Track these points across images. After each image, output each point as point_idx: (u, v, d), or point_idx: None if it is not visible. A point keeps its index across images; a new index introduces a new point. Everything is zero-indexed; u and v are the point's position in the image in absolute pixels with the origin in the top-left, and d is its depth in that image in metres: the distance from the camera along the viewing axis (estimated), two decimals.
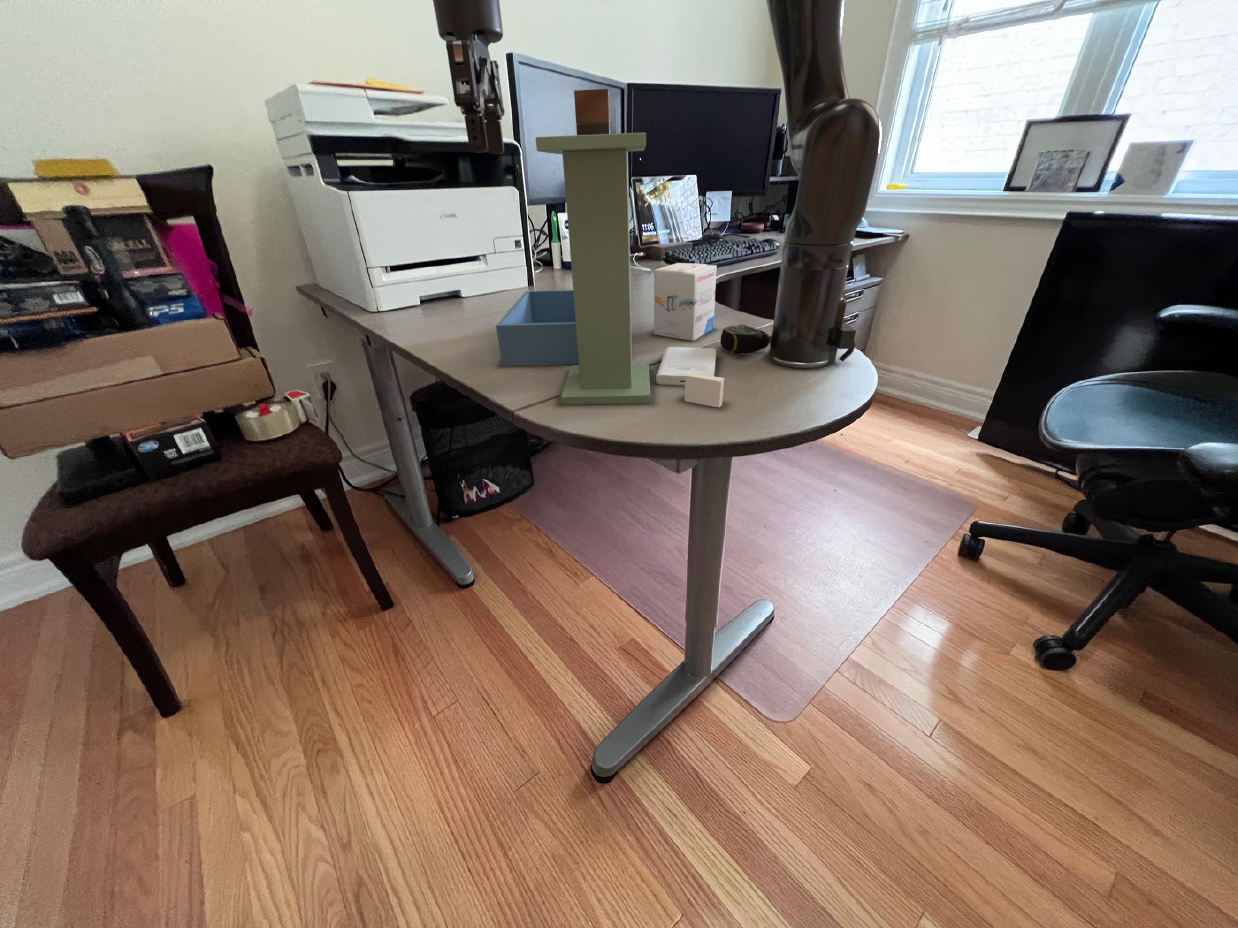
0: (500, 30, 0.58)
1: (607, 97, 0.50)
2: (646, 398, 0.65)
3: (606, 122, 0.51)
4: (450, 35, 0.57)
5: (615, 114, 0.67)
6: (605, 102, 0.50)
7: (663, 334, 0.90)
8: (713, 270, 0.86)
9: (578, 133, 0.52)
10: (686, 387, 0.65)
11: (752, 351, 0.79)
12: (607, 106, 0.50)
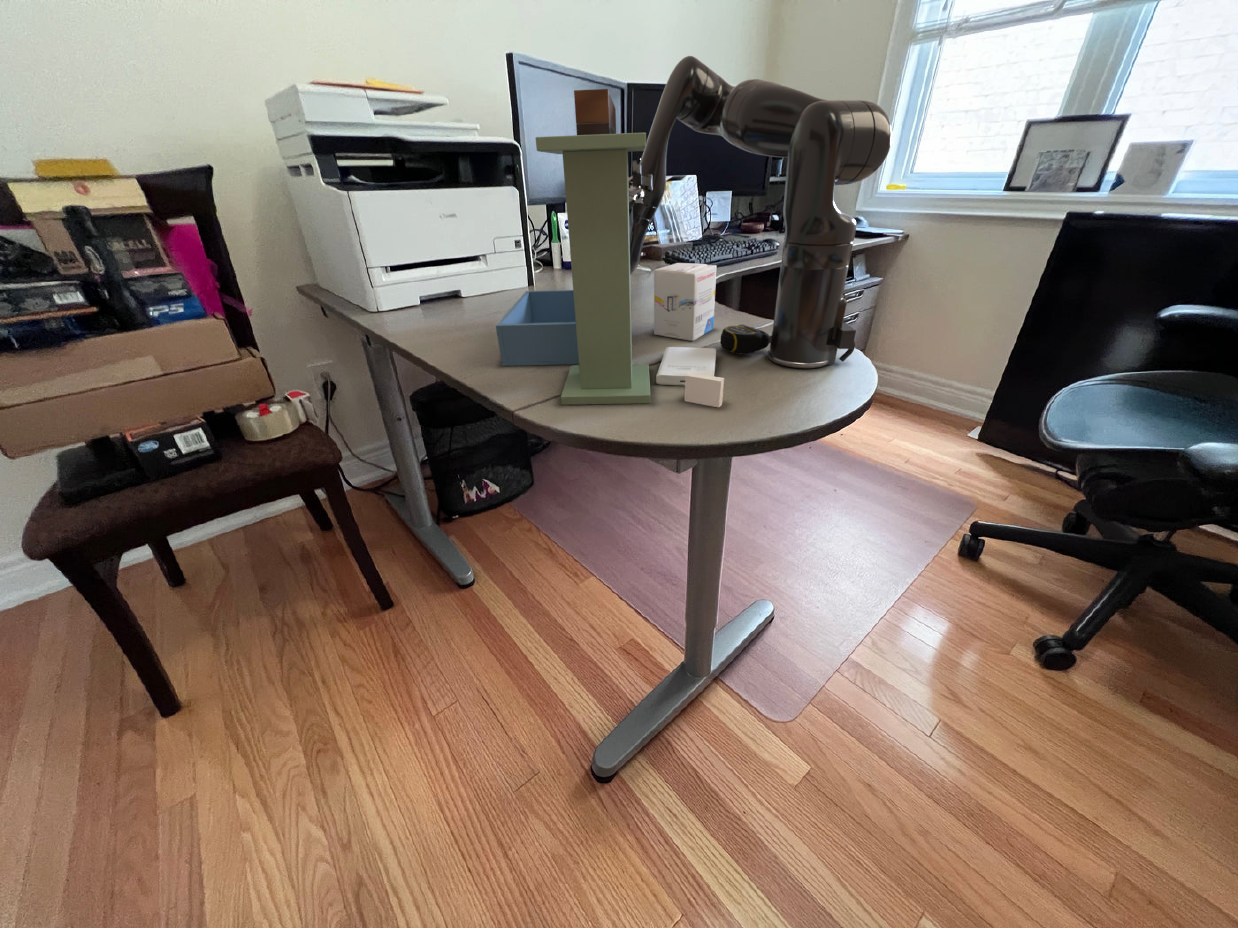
0: None
1: (607, 97, 0.50)
2: (646, 398, 0.65)
3: (606, 122, 0.51)
4: None
5: (615, 114, 0.67)
6: (605, 102, 0.50)
7: (663, 334, 0.90)
8: (713, 270, 0.86)
9: (578, 133, 0.52)
10: (686, 387, 0.65)
11: (752, 351, 0.79)
12: (607, 106, 0.50)
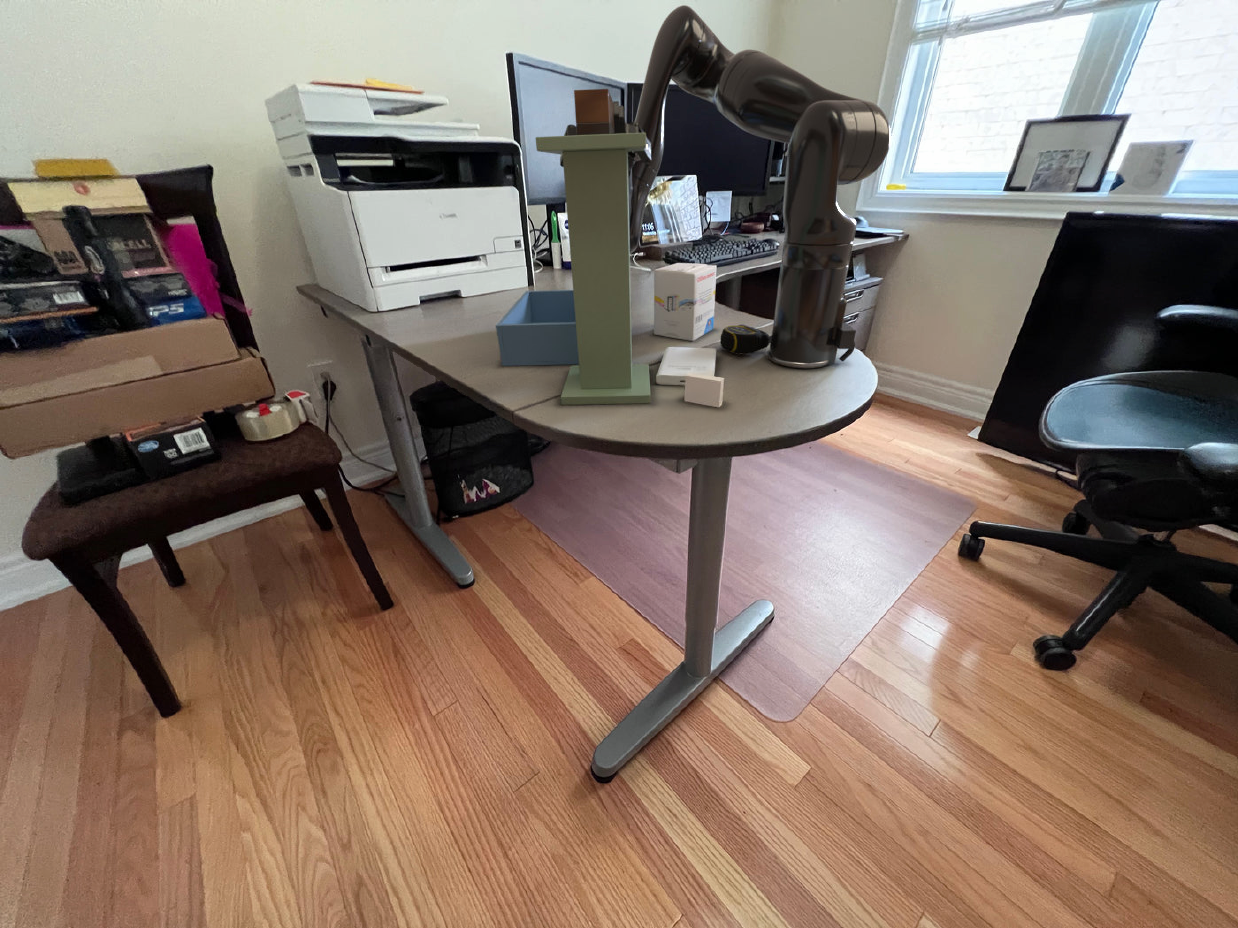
0: None
1: (607, 97, 0.50)
2: (646, 398, 0.65)
3: (606, 122, 0.51)
4: None
5: None
6: (605, 102, 0.50)
7: (663, 334, 0.90)
8: (713, 270, 0.86)
9: (578, 133, 0.52)
10: (686, 387, 0.65)
11: (752, 351, 0.79)
12: (607, 106, 0.50)
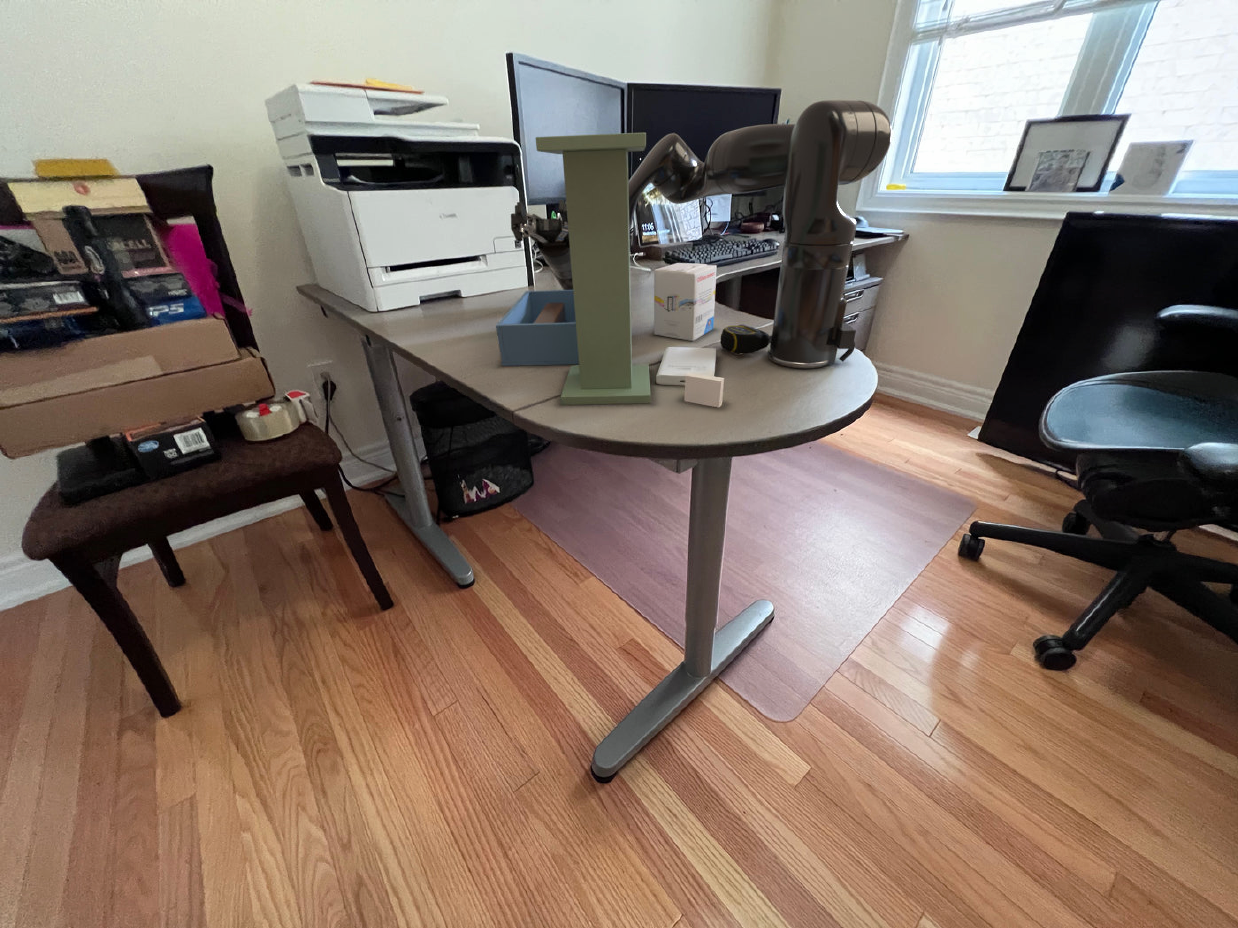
0: None
1: None
2: (646, 398, 0.65)
3: None
4: (543, 247, 0.94)
5: (564, 307, 0.96)
6: None
7: (663, 334, 0.90)
8: (713, 270, 0.86)
9: None
10: (686, 387, 0.65)
11: (752, 351, 0.79)
12: None
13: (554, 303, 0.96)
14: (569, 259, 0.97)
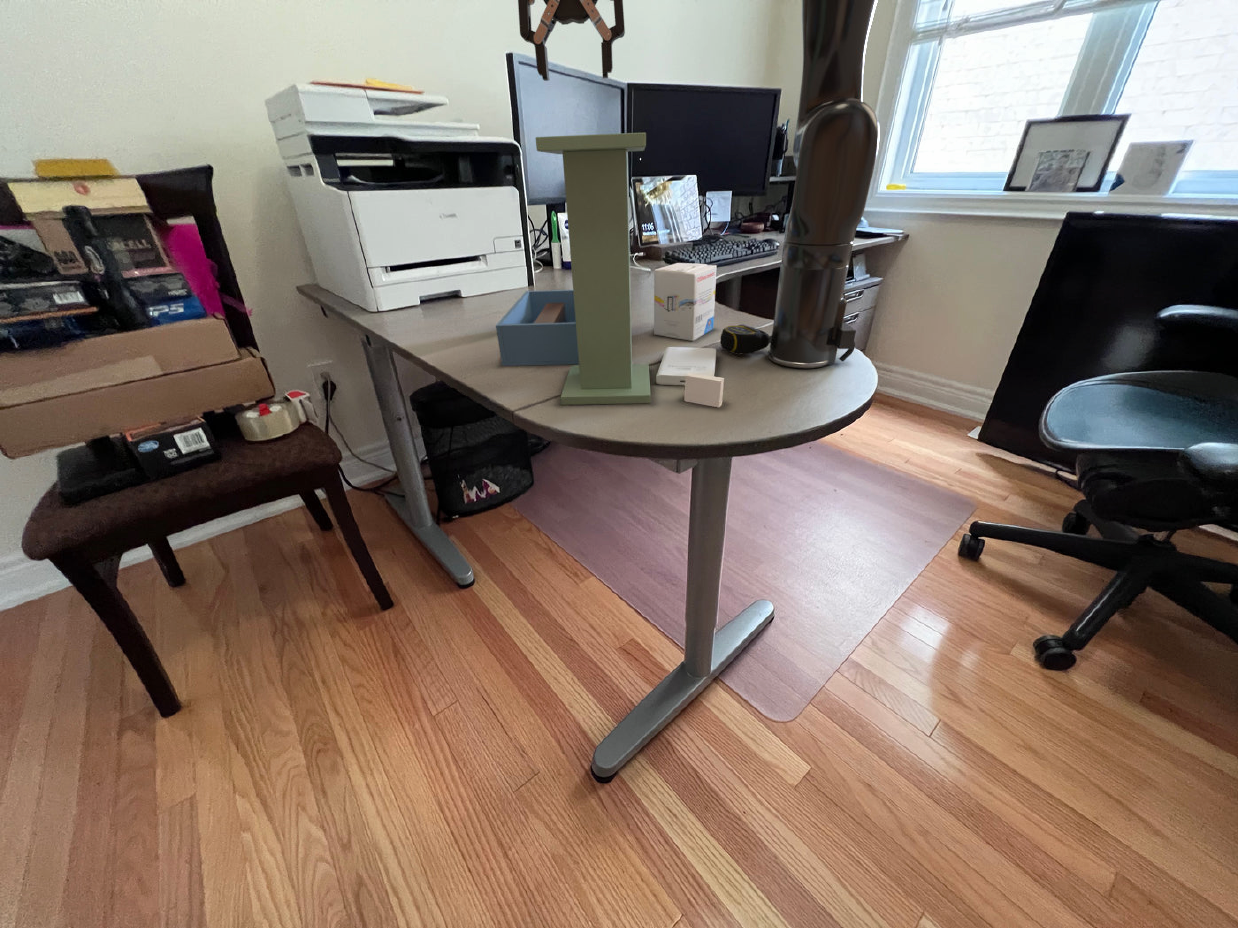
0: None
1: None
2: (646, 398, 0.65)
3: None
4: None
5: (564, 307, 0.96)
6: None
7: (663, 334, 0.90)
8: (713, 270, 0.86)
9: None
10: (686, 387, 0.65)
11: (752, 351, 0.79)
12: None
13: (554, 303, 0.96)
14: None
